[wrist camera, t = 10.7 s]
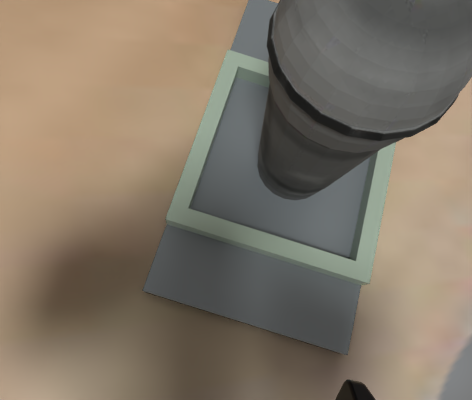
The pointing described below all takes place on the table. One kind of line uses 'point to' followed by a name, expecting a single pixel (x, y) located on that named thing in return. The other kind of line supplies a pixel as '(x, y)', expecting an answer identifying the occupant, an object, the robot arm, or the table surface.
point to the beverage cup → (355, 83)
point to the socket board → (266, 218)
